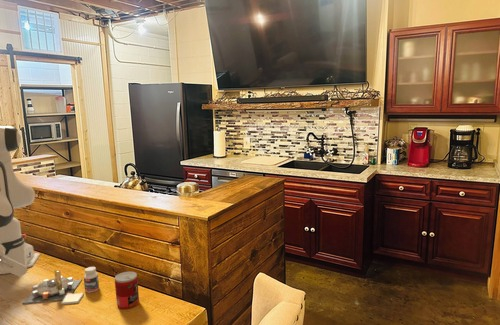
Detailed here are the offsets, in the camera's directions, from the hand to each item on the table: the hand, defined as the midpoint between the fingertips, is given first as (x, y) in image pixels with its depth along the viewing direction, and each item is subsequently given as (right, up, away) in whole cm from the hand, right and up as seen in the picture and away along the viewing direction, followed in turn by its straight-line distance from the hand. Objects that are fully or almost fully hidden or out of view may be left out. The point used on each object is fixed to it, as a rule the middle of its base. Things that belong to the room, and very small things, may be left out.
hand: (24, 271), depth 127 cm
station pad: (+14, -13, +7) cm, 20 cm away
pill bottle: (+18, -12, +15) cm, 26 cm away
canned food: (+37, -13, +3) cm, 39 cm away
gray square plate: (+3, -13, +14) cm, 19 cm away
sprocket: (+3, -13, +14) cm, 19 cm away
